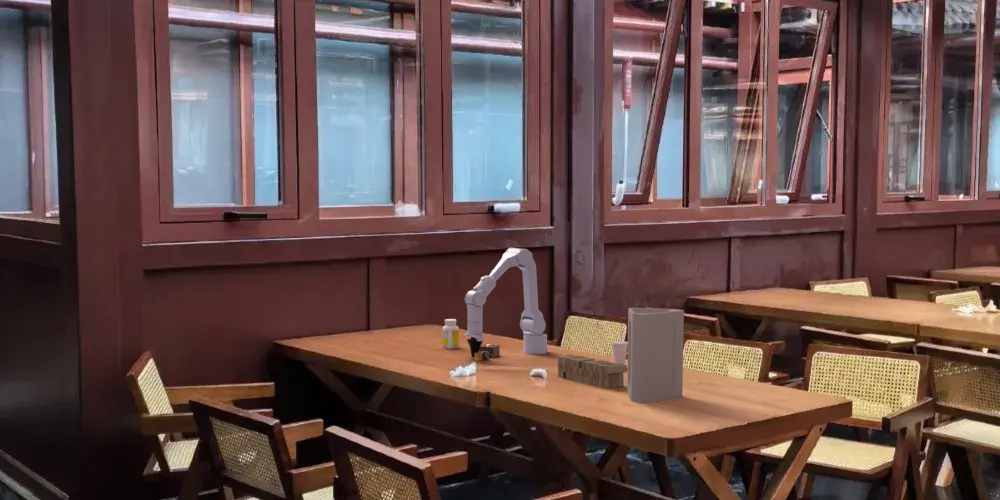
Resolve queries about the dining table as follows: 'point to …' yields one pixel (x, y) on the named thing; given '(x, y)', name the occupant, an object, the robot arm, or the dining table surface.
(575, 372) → the block tower
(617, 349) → the smoothie
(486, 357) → the dowel
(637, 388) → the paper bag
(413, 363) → the dining table surface
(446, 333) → the supplement bottle
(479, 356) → the knob-topped wooden stand
